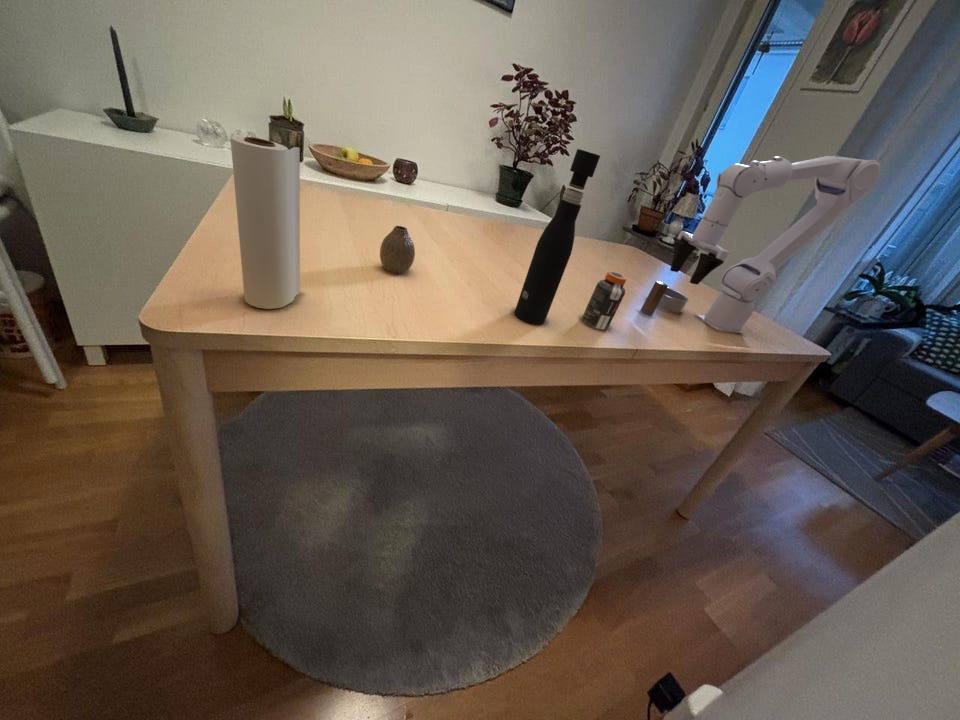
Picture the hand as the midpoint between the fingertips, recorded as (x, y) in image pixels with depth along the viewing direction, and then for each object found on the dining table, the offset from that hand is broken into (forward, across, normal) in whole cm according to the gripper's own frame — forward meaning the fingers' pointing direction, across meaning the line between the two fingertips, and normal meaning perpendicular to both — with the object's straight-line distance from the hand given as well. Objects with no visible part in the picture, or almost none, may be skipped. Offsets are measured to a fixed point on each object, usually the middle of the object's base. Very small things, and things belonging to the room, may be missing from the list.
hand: (683, 277), depth 94 cm
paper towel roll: (+11, +18, -88) cm, 90 cm away
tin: (+10, -6, +5) cm, 13 cm away
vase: (+11, -2, -69) cm, 70 cm away
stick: (+10, +2, -7) cm, 13 cm away
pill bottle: (+11, +11, -27) cm, 31 cm away
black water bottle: (+11, +12, -43) cm, 46 cm away
